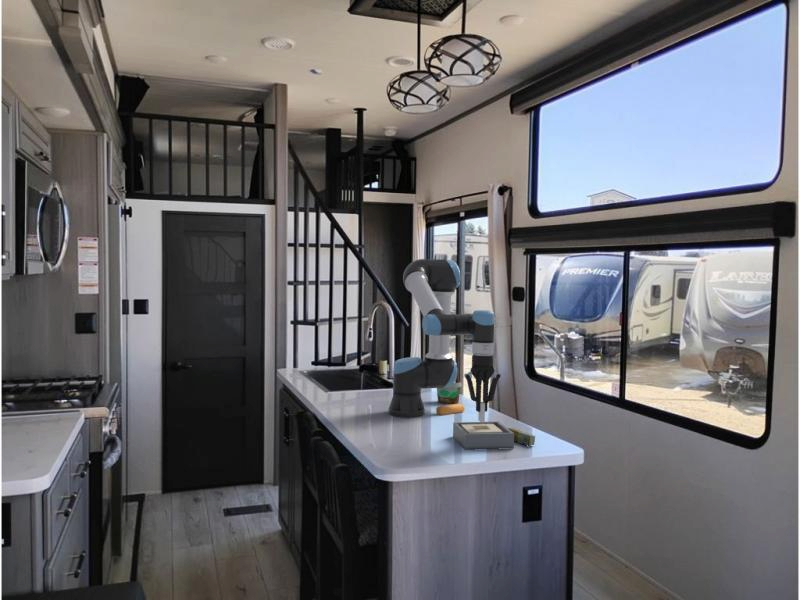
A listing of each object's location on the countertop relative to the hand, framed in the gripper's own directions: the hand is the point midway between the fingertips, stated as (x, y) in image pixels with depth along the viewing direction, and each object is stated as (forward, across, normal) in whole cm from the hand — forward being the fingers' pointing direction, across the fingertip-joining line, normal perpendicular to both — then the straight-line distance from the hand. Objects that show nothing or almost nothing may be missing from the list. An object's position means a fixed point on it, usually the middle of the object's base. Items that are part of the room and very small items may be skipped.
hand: (481, 420), depth 225 cm
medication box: (+8, +14, -2) cm, 16 cm away
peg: (+6, -6, +41) cm, 42 cm away
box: (+8, 0, -2) cm, 8 cm away
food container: (+7, +3, +63) cm, 64 cm away
